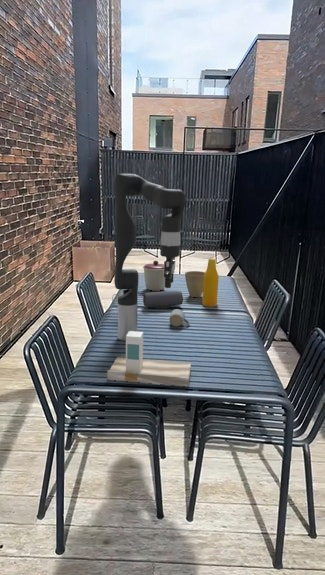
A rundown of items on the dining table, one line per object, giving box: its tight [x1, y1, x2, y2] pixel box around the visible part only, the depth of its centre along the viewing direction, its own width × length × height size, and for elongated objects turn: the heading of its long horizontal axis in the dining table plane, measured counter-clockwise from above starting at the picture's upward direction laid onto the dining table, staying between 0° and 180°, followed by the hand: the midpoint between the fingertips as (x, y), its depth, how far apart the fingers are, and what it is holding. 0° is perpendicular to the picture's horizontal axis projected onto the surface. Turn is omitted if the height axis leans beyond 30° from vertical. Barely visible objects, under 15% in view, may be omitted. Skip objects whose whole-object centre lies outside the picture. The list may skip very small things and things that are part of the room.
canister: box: [142, 260, 166, 292], centre depth 275 cm, size 18×18×21 cm
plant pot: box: [184, 270, 206, 298], centre depth 261 cm, size 15×15×16 cm
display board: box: [106, 356, 192, 388], centre depth 149 cm, size 15×30×4 cm, turn 82°
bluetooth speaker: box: [142, 290, 184, 309], centre depth 235 cm, size 23×9×10 cm, turn 108°
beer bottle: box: [201, 258, 220, 308], centre depth 240 cm, size 9×9×29 cm
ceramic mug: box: [168, 308, 190, 328], centre depth 205 cm, size 11×8×8 cm
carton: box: [125, 331, 144, 372], centre depth 147 cm, size 6×6×14 cm
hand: (169, 285), depth 151 cm, fingers open, 8 cm apart
